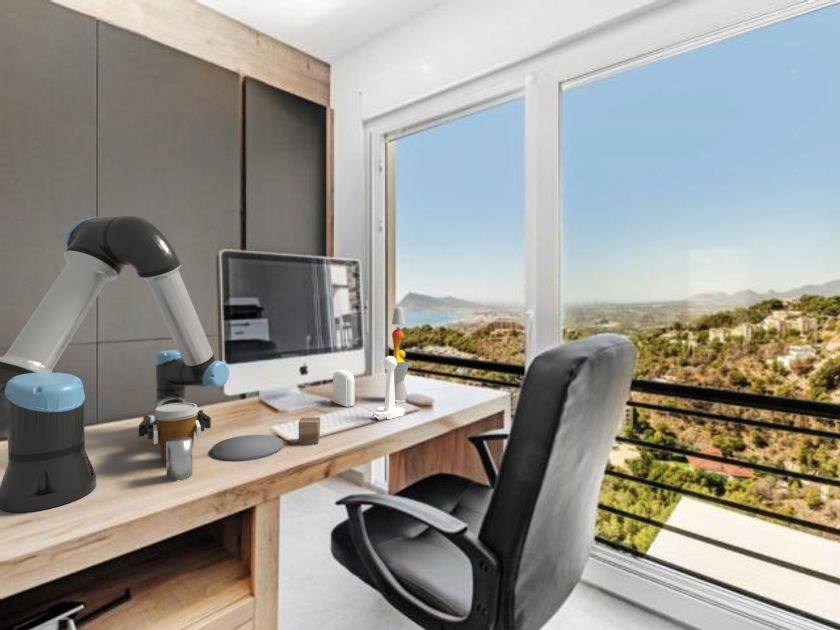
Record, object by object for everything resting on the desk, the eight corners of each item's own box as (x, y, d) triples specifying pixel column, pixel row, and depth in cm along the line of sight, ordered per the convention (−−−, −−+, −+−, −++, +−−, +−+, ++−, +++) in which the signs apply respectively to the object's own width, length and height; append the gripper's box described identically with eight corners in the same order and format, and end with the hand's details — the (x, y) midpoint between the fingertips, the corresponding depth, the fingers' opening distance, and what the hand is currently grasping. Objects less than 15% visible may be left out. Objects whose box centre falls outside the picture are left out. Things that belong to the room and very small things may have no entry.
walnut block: (317, 444, 123) (317, 421, 122) (298, 444, 122) (298, 422, 122) (320, 438, 128) (320, 416, 127) (301, 438, 127) (301, 417, 127)
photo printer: (331, 402, 169) (331, 368, 169) (341, 400, 172) (341, 367, 171) (345, 408, 161) (345, 372, 161) (356, 406, 164) (356, 371, 163)
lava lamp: (398, 404, 167) (399, 308, 165) (380, 400, 172) (381, 307, 171) (414, 400, 174) (415, 307, 172) (396, 396, 179) (397, 306, 178)
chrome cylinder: (180, 482, 97) (180, 445, 97) (161, 479, 98) (160, 442, 98) (197, 473, 102) (197, 437, 102) (178, 470, 103) (178, 435, 103)
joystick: (381, 421, 145) (381, 358, 144) (366, 417, 150) (366, 355, 149) (406, 415, 152) (407, 355, 151) (391, 411, 158) (392, 353, 157)
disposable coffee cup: (184, 447, 116) (183, 400, 115) (207, 455, 111) (207, 405, 110) (145, 459, 108) (144, 408, 107) (168, 467, 103) (168, 414, 102)
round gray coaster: (258, 464, 108) (258, 459, 108) (196, 456, 112) (196, 452, 112) (295, 441, 124) (295, 437, 124) (240, 435, 129) (240, 432, 129)
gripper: (214, 421, 130) (227, 444, 110) (127, 431, 119) (123, 459, 100) (214, 395, 130) (227, 413, 110) (126, 402, 119) (123, 424, 99)
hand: (177, 435), depth 105 cm, fingers closed on disposable coffee cup, 8 cm apart
